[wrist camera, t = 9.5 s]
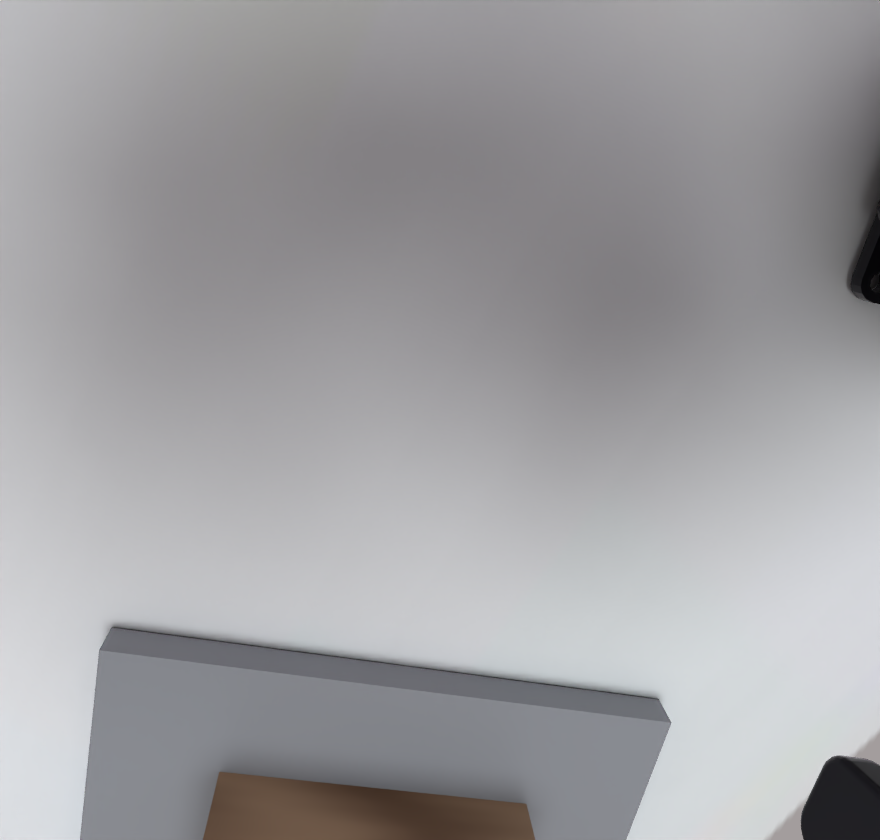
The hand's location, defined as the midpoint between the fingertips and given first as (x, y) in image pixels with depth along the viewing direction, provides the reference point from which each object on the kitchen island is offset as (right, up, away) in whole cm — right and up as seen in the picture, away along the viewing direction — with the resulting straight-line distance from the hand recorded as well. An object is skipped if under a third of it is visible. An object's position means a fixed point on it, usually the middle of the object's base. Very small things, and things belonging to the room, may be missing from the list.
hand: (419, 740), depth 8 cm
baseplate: (-3, -11, +16) cm, 20 cm away
